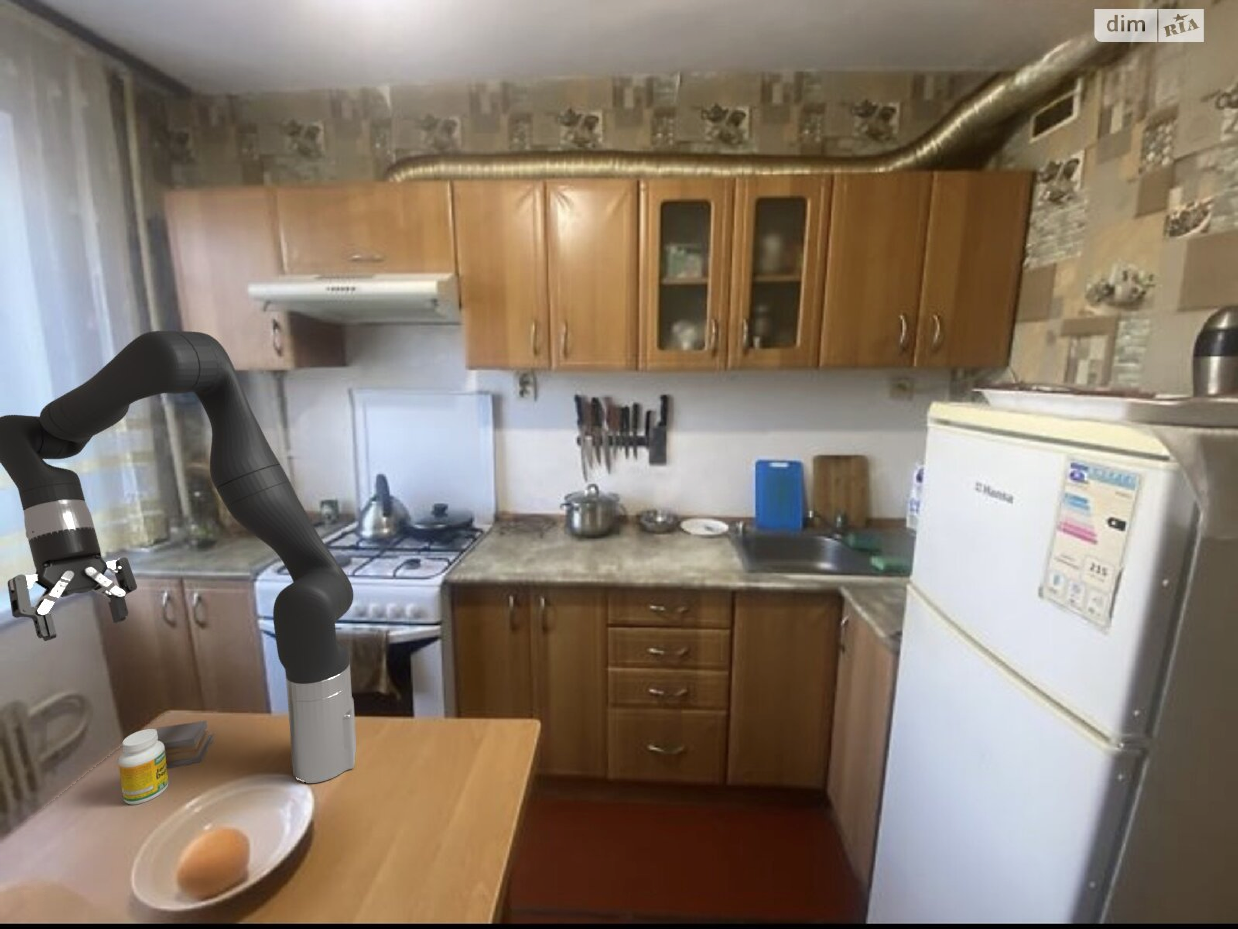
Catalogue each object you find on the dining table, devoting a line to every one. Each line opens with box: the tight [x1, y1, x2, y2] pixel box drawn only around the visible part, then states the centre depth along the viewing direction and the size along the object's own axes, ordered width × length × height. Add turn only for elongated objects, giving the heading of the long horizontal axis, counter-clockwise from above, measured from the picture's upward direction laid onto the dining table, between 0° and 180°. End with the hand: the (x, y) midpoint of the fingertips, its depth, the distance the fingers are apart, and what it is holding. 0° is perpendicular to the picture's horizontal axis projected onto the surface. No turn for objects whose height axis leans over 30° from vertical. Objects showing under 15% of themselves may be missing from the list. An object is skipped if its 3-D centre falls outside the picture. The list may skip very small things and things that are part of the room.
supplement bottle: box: [118, 728, 169, 805], centre depth 83 cm, size 5×5×10 cm
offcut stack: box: [155, 720, 215, 769], centre depth 92 cm, size 9×7×4 cm
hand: (87, 630), depth 85 cm, fingers open, 8 cm apart
